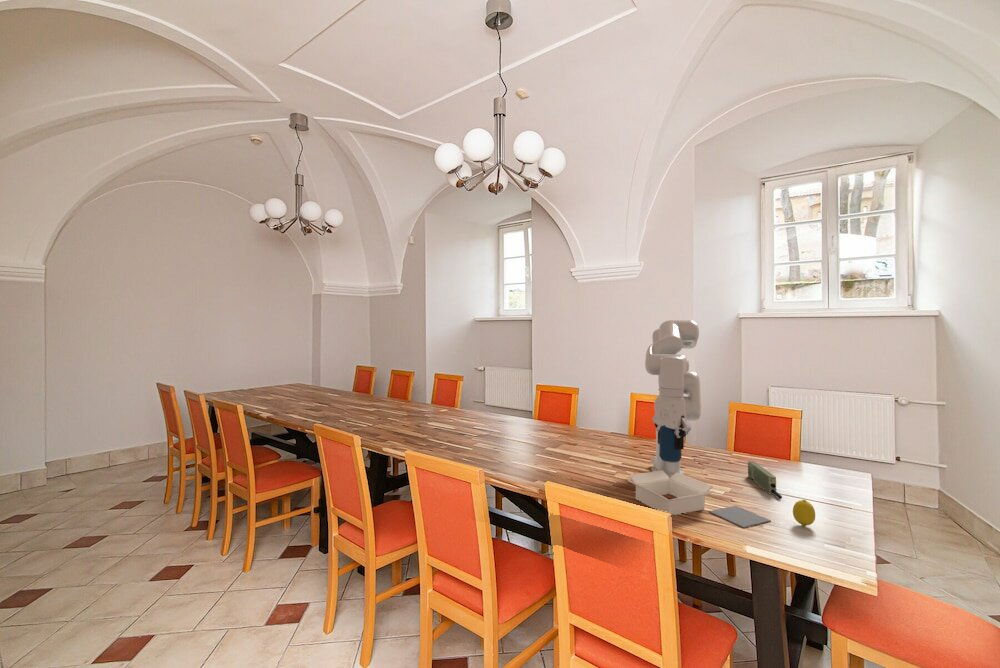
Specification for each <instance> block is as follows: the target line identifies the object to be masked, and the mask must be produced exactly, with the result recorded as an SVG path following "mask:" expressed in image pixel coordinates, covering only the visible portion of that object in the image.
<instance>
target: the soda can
mask: <svg viewBox="0 0 1000 668" xmlns="http://www.w3.org/2000/svg"><path fill="white" fill-rule="evenodd" d="M679 433H680V430H679ZM675 437H677V436H676V433H675V430H674V429H670V428H667V427H665V425H663V426H661V427H660V441H659V456H660V458H661V460H663V461H665V462H670V463H677V462H679V461H680V459H681V460H682V453H683V451H682V450H683V449H680V450H676V449H675Z"/></svg>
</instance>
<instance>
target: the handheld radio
mask: <svg viewBox="0 0 1000 668" xmlns="http://www.w3.org/2000/svg"><path fill="white" fill-rule="evenodd" d="M747 476H748V477H749V478H750V479H751V478H752V479H753V480H752V479H751V480H752V481H754V482H755V483H756V482H757V483H758V484H759V485H758V484H757V483H756V484H757V485H758V486H759V487H760V488H762V489H763V488H764V489H765V490H764V489H763V490H764V491H766V493H768V494H769V493H770V494H769V495H774V496H775V497H776V498H778V499H780V500H781V499H782V498H783V496H782V494H780V493H779V492H777V477H776V476H775V475H774V474H773V473H772V472H769V470H767V469H766V468H764V467H763V466H761V465H760V464H758V462H756V461H754V460H748V462H747Z"/></svg>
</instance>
